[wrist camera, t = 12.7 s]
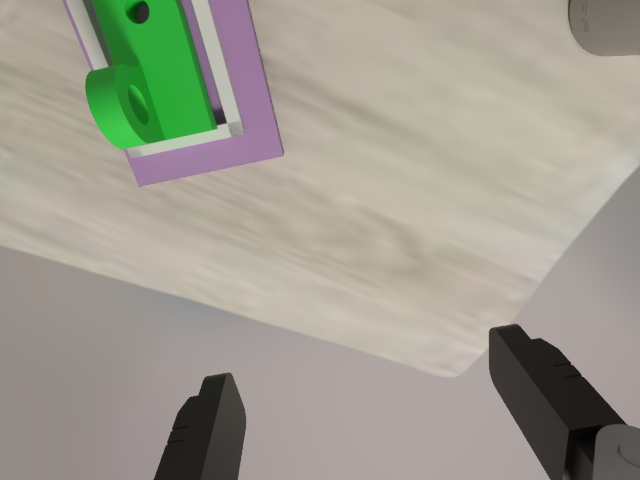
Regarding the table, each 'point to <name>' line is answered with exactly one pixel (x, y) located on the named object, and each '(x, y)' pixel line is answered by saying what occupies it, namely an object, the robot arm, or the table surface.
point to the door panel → (222, 86)
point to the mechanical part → (148, 76)
